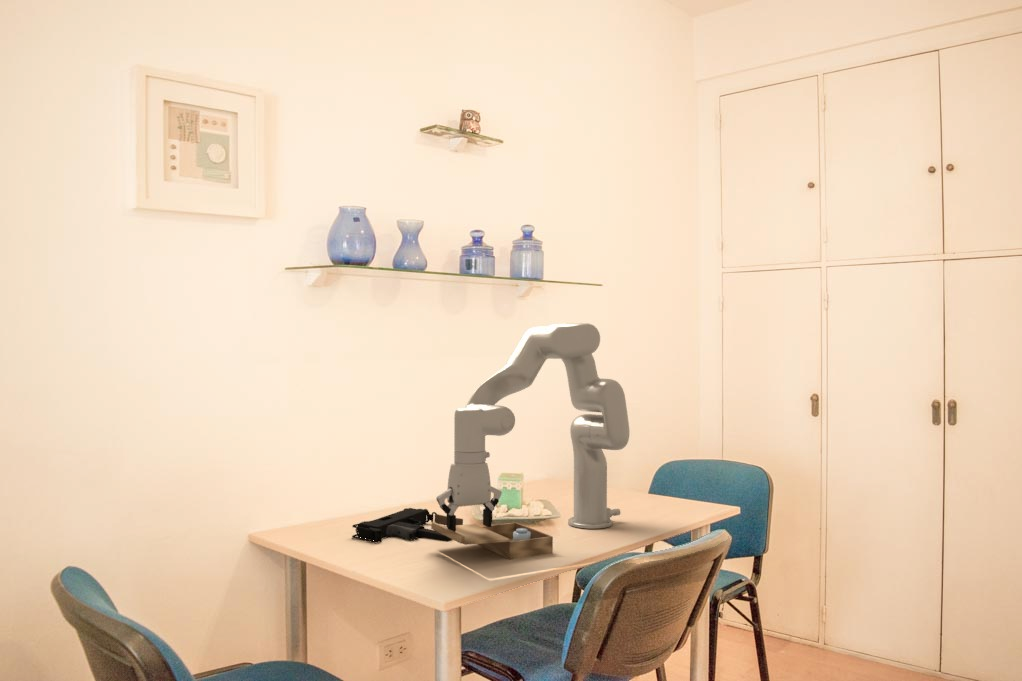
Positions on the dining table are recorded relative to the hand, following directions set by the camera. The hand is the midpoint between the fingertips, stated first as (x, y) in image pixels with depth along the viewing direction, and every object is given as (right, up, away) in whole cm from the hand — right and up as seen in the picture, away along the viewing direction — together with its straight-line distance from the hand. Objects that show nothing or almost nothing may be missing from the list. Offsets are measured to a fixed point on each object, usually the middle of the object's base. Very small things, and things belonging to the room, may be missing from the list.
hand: (469, 528), depth 191 cm
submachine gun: (-15, -7, +23) cm, 28 cm away
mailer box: (+11, -7, +6) cm, 14 cm away
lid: (0, 0, 0) cm, 0 cm away
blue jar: (+13, -6, +7) cm, 16 cm away
